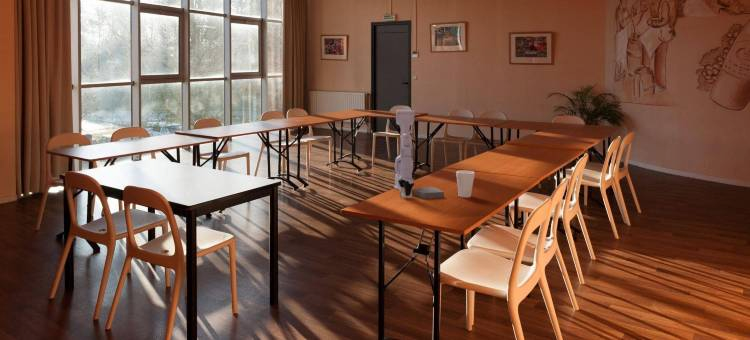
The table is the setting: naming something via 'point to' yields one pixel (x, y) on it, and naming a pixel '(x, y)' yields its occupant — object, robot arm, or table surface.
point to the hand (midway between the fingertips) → (405, 194)
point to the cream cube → (402, 193)
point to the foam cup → (465, 182)
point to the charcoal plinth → (428, 193)
